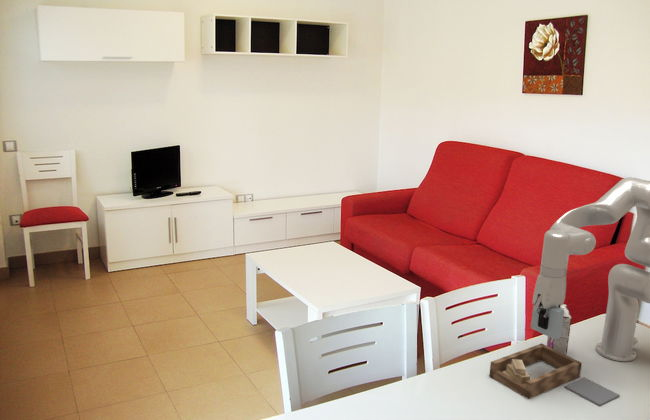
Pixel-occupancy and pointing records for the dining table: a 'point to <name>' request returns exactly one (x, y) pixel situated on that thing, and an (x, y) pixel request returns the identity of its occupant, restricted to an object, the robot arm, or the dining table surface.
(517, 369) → the offcut
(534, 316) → the block
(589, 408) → the dining table surface
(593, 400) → the felt pad
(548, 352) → the tray
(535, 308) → the robot arm
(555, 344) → the candy bar box
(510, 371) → the offcut
